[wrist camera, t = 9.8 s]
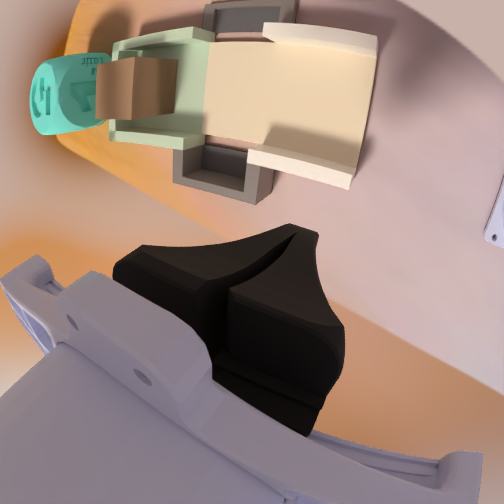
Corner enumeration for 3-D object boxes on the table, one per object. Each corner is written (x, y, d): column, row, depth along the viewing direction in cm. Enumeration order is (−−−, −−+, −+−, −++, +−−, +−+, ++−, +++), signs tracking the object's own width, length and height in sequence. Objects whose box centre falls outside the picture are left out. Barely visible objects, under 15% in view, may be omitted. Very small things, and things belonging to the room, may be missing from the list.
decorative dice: (119, 121, 25) (57, 137, 19) (83, 119, 28) (30, 134, 21) (124, 52, 21) (59, 54, 15) (86, 60, 23) (30, 67, 17)
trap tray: (381, 14, 12) (380, -1, 9) (344, 215, 20) (337, 230, 18) (139, 20, 18) (116, 17, 16) (132, 160, 27) (110, 167, 25)
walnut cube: (178, 59, 19) (134, 56, 15) (174, 113, 22) (131, 119, 18) (139, 63, 20) (97, 64, 16) (136, 111, 23) (95, 119, 19)
